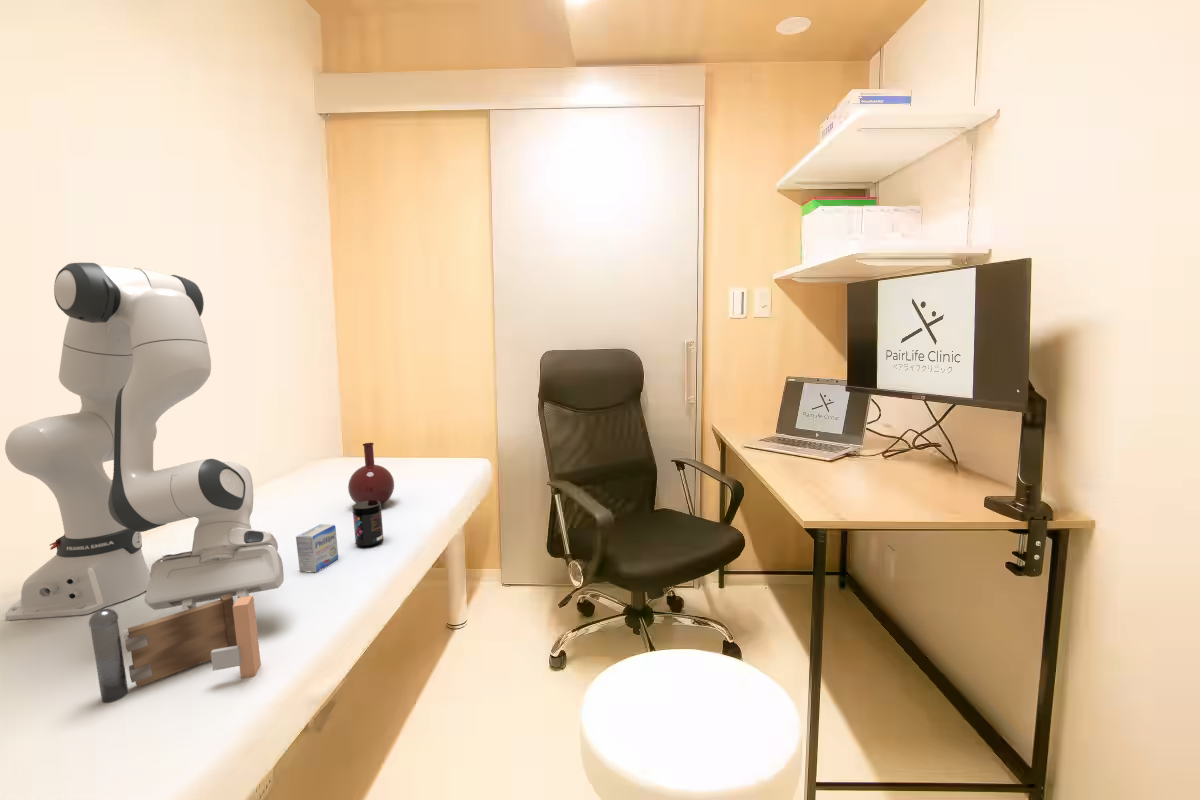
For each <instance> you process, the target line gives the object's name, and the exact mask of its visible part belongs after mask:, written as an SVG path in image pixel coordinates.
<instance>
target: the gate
mask: <svg viewBox="0 0 1200 800" xmlns="http://www.w3.org/2000/svg"><path fill="white" fill-rule="evenodd" d="M234 604H235V602H234V596H231V594H227V595H224V596H221V597H220V599H216V600H215V601H212V602H208V603H204V604H202V605H198V606H196V607H195V608H191V609H188V610H185V611H184V610H183V611H178V612H176V613H173V614H172V613H171V614H170V615H167V616H163V617H160V618H157V619H153V620H150V621H147V622H144V623H140V624H138V625H133V626H132V627H128V628H127V634H125V635H123V637H124V645H125V649H126V652H127V653H131V655H130V656H131V661H132V664H129V665H128V671H129V672H128V673H129V679H130V682H131V683H135V686H136V687H137V688H138V687H141V686H143V685H146V684H149V683H151V682H154V681H156V680H160V679H162V678H164V677H168V676H170V675H172V674H175V673H178V672H180V671H183V670H186V669H189V668H191V667H194V666H197V665H200V664H202V663H205V662H207V661H211V660H212V659H211V651H212V650H214V649H220V648H226V647H232V646H237V640H236V632H235V623H234V615H233V605H234Z"/></svg>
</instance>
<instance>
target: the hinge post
mask: <svg viewBox="0 0 1200 800" xmlns="http://www.w3.org/2000/svg"><path fill="white" fill-rule="evenodd" d="M88 626H89V628H90V633H91V640H92V646H93V653H94V659H95V665H96V670H97V671H96V673H97V677H98V685H99V690H100V697H101V702H102V703H105V704H106V703H113V702H116V701H118V700H121V699H122V698H124V697H126V695H127V694H129V688H128V681H127V674H126V673H127V672H126V668H125V662H124V661H125V660H124V655H123V654H124V652H123V647H122V640H121V634H120V626H119V615H118V613H117V611H116V610H114V609H112V608H101V609H99V610H97V611H95V612H93V614H91V616H90V618H89V621H88Z"/></svg>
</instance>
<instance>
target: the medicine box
mask: <svg viewBox="0 0 1200 800" xmlns="http://www.w3.org/2000/svg"><path fill="white" fill-rule="evenodd" d="M336 527H337V526H336V525H335V524H330V523H327V524H326V523H324V524H323V523H322V524H321V523H320V524H318V525H316V526H314V527H312V528H310V529H308V530H307V531H304V532H302V533H301V534H299V535H296V536H295V540H296V541H295V542H296V553H297V558H298V567H299V568H298V569H299V571H300V570H302V571H311V572H310V573H314V572H317V571H318V572H320V571H321V570H323V569H324V568H326V567H327V565H328V564H329V565H330V563H331V564H332V563H333V561H334V562H335V561H337V560H338V559H339V550H338V540H337V529H336ZM329 565H328V566H329ZM325 566H326V567H325ZM322 568H323V569H322ZM320 569H321V570H320ZM319 570H320V571H319ZM318 572H317V573H318Z"/></svg>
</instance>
